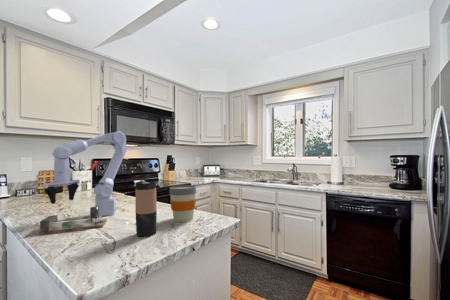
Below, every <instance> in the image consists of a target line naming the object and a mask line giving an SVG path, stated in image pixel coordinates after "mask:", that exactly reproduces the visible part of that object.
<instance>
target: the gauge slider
mask: <svg viewBox="0 0 450 300" xmlns="http://www.w3.org/2000/svg"><path fill="white" fill-rule="evenodd" d="M89 212H90V213H89V218H88V219H90V222H92V218H95V223H96V222H99V221H100V220H101V219H102V216H101V215H99V207H97V206H96V207H95V206H91V207H90V208H89Z"/></svg>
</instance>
